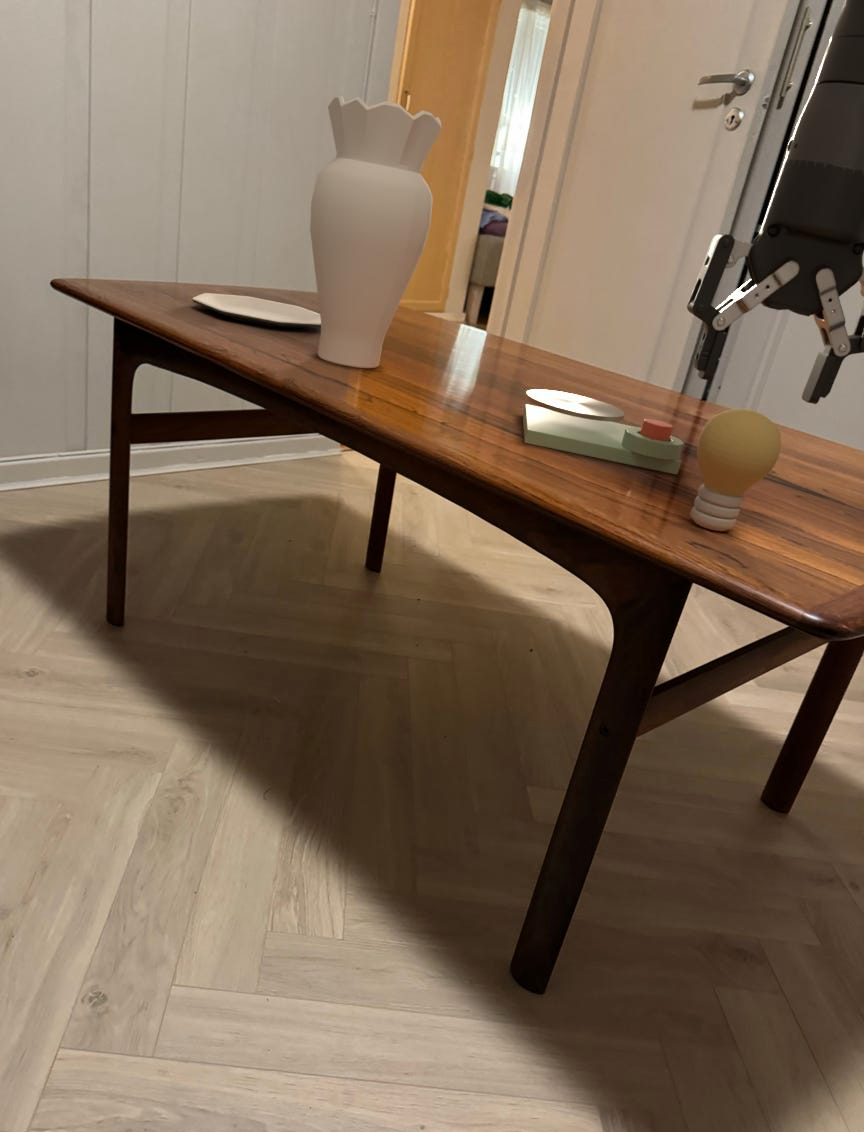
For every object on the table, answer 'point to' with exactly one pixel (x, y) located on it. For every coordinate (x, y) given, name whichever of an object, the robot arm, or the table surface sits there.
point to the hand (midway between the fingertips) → (756, 390)
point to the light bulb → (732, 464)
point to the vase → (369, 224)
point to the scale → (600, 440)
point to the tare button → (656, 429)
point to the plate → (259, 310)
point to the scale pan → (575, 405)
